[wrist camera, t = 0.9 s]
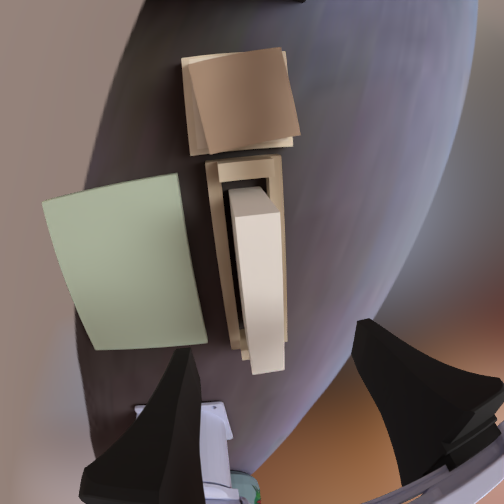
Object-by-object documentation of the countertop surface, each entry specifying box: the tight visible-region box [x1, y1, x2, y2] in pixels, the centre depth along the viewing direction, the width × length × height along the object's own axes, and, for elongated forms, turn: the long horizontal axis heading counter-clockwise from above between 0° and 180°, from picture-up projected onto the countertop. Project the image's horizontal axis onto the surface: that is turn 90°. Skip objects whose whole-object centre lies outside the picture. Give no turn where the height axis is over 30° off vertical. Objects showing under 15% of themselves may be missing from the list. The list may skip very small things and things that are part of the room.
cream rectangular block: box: [228, 186, 285, 375], centre depth 17 cm, size 2×10×6 cm, turn 4°
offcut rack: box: [181, 47, 301, 360], centre depth 17 cm, size 6×20×3 cm, turn 5°
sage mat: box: [42, 173, 208, 350], centre depth 19 cm, size 10×13×1 cm
